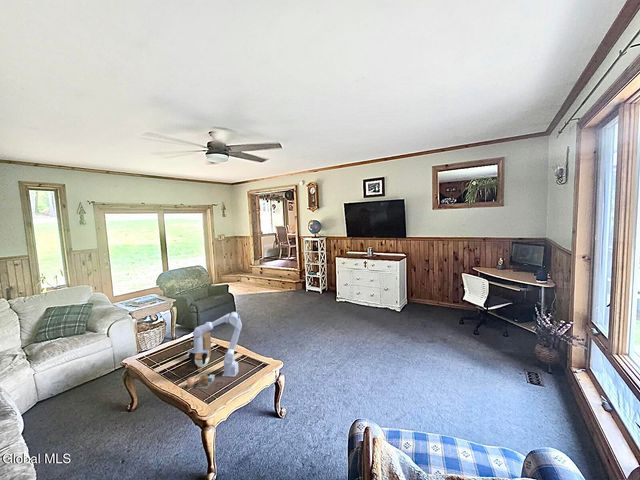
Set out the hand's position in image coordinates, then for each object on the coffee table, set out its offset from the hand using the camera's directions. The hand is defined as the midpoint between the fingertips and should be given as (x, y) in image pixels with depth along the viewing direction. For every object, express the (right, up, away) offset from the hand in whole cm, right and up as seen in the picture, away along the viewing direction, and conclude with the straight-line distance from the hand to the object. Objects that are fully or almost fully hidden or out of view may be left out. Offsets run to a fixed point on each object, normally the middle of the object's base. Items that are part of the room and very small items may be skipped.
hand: (198, 363), depth 197 cm
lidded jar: (-5, -9, +18) cm, 20 cm away
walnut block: (+8, -10, -10) cm, 16 cm away
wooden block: (-9, -9, +29) cm, 31 cm away
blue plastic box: (+10, -10, -3) cm, 15 cm away
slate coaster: (+8, -10, -10) cm, 16 cm away
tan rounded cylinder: (-1, -11, -10) cm, 15 cm away
